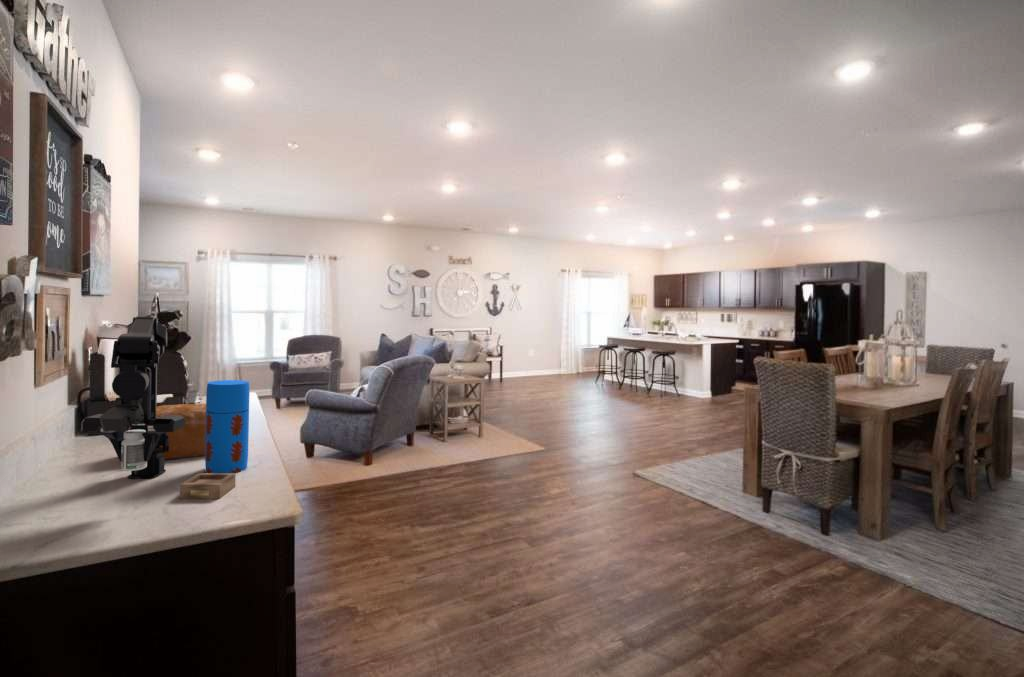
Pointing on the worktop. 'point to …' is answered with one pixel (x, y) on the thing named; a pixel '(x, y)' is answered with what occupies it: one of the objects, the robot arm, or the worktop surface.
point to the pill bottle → (133, 451)
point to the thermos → (227, 426)
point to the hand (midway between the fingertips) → (134, 461)
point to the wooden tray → (207, 486)
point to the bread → (186, 430)
